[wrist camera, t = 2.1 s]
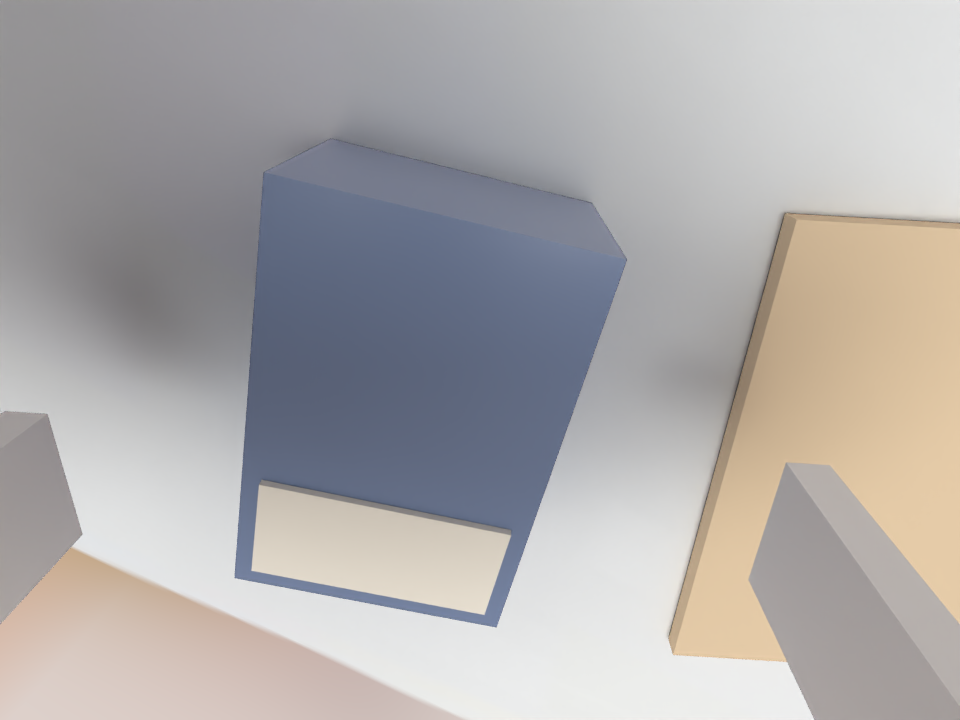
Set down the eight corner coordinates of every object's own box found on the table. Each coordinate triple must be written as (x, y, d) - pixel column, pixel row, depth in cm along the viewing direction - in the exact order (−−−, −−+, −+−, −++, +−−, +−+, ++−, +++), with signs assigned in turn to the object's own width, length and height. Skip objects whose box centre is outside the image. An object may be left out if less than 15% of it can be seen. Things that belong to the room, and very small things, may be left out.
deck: (333, 137, 14) (259, 173, 10) (590, 201, 14) (629, 262, 10) (295, 458, 18) (231, 584, 13) (497, 499, 18) (496, 633, 14)
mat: (785, 213, 14) (796, 219, 13) (1273, 241, 14) (1304, 249, 13) (668, 638, 20) (673, 654, 20) (1003, 659, 20) (1017, 675, 20)
